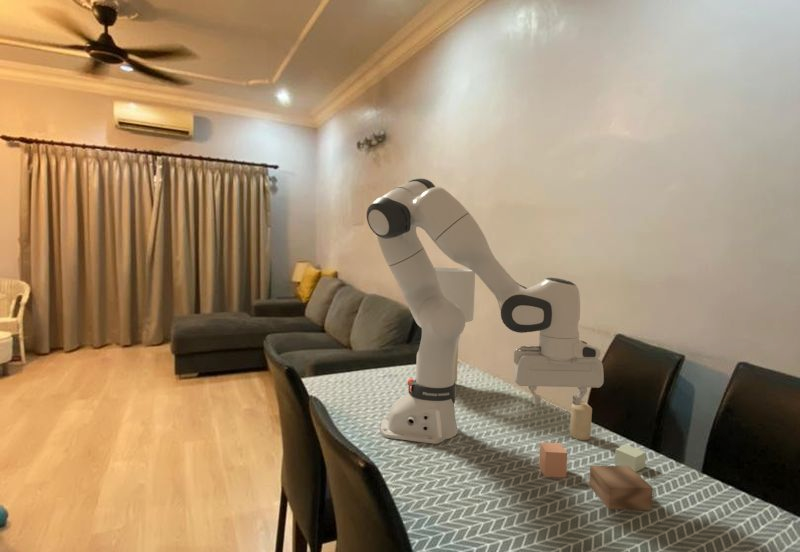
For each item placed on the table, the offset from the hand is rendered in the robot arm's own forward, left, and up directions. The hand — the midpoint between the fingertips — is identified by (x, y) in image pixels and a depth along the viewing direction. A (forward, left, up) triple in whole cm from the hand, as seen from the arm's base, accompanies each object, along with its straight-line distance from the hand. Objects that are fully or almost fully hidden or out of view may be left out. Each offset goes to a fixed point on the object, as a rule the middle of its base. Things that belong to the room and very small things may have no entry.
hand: (556, 403), depth 106 cm
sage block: (+20, +5, -17) cm, 27 cm away
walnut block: (+11, -10, -17) cm, 23 cm away
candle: (+14, +21, -17) cm, 30 cm away
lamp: (-24, +62, -17) cm, 69 cm away
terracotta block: (0, 0, -17) cm, 17 cm away
